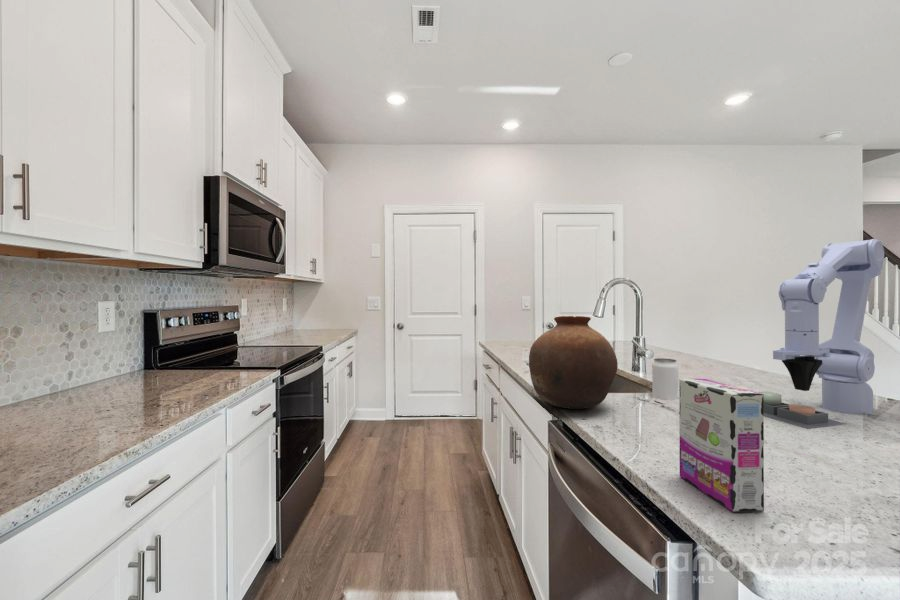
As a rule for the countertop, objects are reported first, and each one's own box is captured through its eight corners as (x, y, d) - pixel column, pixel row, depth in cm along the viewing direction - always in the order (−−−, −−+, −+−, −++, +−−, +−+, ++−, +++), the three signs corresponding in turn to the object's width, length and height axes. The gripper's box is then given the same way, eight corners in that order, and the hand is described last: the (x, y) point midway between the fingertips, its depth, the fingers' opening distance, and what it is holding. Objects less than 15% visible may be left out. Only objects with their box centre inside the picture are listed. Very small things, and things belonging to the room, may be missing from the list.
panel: (741, 402, 107) (741, 389, 107) (848, 430, 84) (848, 414, 84) (706, 405, 104) (706, 392, 104) (807, 435, 81) (807, 419, 81)
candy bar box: (767, 512, 52) (766, 393, 52) (733, 514, 52) (732, 394, 52) (706, 474, 64) (705, 377, 64) (677, 476, 63) (677, 377, 63)
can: (682, 405, 104) (682, 362, 104) (656, 404, 106) (656, 361, 106) (673, 399, 111) (673, 358, 111) (649, 398, 112) (649, 357, 112)
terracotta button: (798, 413, 90) (798, 403, 90) (820, 419, 86) (820, 408, 86) (784, 415, 89) (784, 404, 89) (805, 420, 85) (805, 410, 85)
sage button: (767, 400, 97) (767, 391, 97) (786, 405, 92) (786, 395, 92) (753, 401, 96) (753, 392, 96) (772, 406, 91) (772, 396, 91)
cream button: (740, 393, 104) (740, 385, 104) (756, 397, 99) (756, 388, 99) (727, 394, 102) (727, 386, 102) (743, 399, 98) (743, 389, 98)
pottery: (561, 424, 90) (561, 318, 90) (514, 399, 112) (513, 314, 112) (637, 413, 97) (636, 316, 97) (579, 393, 119) (578, 313, 119)
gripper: (805, 328, 93) (805, 384, 93) (759, 330, 89) (759, 387, 89) (840, 330, 86) (841, 390, 86) (792, 332, 83) (792, 395, 83)
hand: (801, 389), depth 87 cm, fingers closed
